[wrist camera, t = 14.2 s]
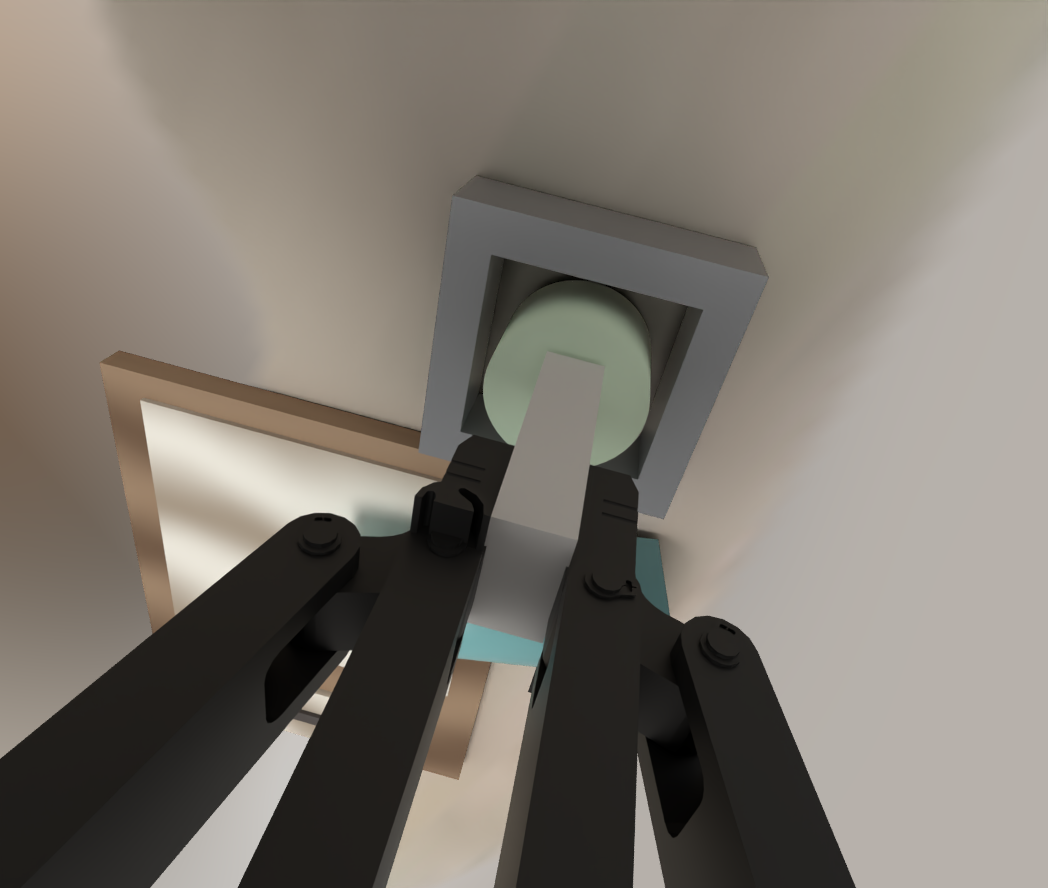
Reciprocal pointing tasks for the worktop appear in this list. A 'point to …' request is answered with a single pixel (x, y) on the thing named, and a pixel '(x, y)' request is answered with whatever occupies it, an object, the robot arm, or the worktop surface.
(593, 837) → the robot arm
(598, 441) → the button
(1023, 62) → the worktop surface
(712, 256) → the button housing
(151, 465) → the clipboard
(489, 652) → the teal square-headed peg
